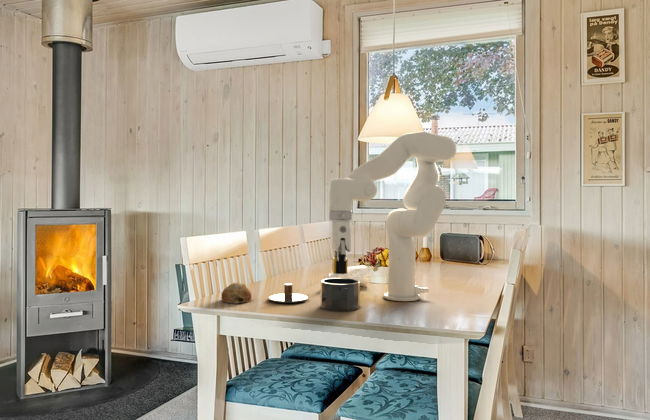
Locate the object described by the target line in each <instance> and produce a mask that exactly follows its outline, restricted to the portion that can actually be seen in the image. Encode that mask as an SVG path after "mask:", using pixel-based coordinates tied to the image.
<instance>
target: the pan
mask: <svg viewBox="0 0 650 420" xmlns="http://www.w3.org/2000/svg"><path fill="white" fill-rule="evenodd" d="M360 287H361V286H360V281H359V280H355V279H349V278H329V279H325V278H324V279H322V280H321V281H320V308H321V309H323V310H326V311H329V312H330V311H331V312H351V311H356V310H358V309H360V303H361V302H360V300H361V299H360V297H361V296H360V292H361V291H360V290H361V288H360Z"/></svg>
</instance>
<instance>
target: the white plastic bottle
mask: <svg viewBox="0 0 650 420" xmlns="http://www.w3.org/2000/svg"><path fill="white" fill-rule="evenodd" d="M370 271H371V269H370V268H369V267H368V266H367V265H356V266H347V274H334V273H333V272H332V271H331V272H330V273H327V274H326V275H325V276H324V277H323V278H324V279H329V278H349V279H355V280H359V281H360V287H363V286H367V285H369V283H370V282H371V278H372V276H371V275H372V274H371V272H370Z"/></svg>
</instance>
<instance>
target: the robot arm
mask: <svg viewBox="0 0 650 420" xmlns="http://www.w3.org/2000/svg"><path fill="white" fill-rule="evenodd" d="M456 154H457V144H456V143H455V141H454V140H453V139H452V138H451V137H449V136H446V135H442V134H436V133H431V132H427V131H415V132H406V133H403V134H401V135H399V136H398V137H396V138H395V139H394V140H393V141H392V142H391V143H390V144H389V145H388V146H387V147H385V148H384V149H383V150H382V151H381V152H380V153H378V155H375V157H373V158H370V159H369V160H368V161H366V162H364V163H362V164H360V165H359V166H357V167H356V168H354V169H353V170H352V171H351V172H350V173H348V175H346V176H345V177H344V178H342V177H339V178H338V177H336V178H332V179H330V181H329V200H328V201H329V205H328V207H329V208H328V209H329V211H328V221H330V222H332V223H331V224H332V225H331V248H332V250H333V251H334V254H333V255H334V257H333V258H337V261H336V274H346V258H347V253H350V252H351V251H352V240H351V239H352V238H351V235H352V234H351V233H352V232H351V222H353V204H354V203H353V202H355V201H356V202H367V201H370V200H372V199H374V198H375V197H376V195H377V193H378V187H377V184H376V183H375V182H377V181H379V180H382V179H386V178H388V177H391V176H393V175H395V174H396V173H397V172H398V171H399V170H400V169H401V168H402V167H403V166H404V165H406V163H407V162H409V161H410V160H411V159H412V158H415V162H416V167H417V168H416V173H415V175H414V177H413V179H412V180H411V182H410V184H409V186H408V187H407V189H406V191H405V193H404V195H403V199H402V202H403V203H402V204H403V206H404V207H405V208H397V209H394V210H391V211H390V212H389V213H388V215H387V217H386V221H385V227H386V233H387V242H388V262H387V263H388V264H387V265H388V266H387V267H388V270H387V292H384V293H383V298H384V299H386V300H388V301H392V302H393V301H395V302H414V301H418V300H419V299H420V295H421V294H429V292H430V289H429V287H424V286H418V285H416V262H417V261H416V260H417V259H416V257H417V255H416V254H417V250H416V249H417V248H416V247H417V246H416V243H415V241H414V240H415V239H414V238H417V239H419V238H421V239H422V238H426V237H427V236H428V235H429V234H430V233H431V232H432V231H433V229H434V227H435V225H436V223H437V222H438V220H439V218H440V216H441V214H442V212H443V210H444V208H445V206H446V201H447V196H446V195H447V194H446V192H445V189H444V188H442V186H440V185H439V184H438V183H439V181H440V172H439V169H438V166H437V164H436V163H437V162H439V163H440V162H449V161H450V160H452V159H454V157H455V156H456Z"/></svg>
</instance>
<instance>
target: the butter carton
mask: <svg viewBox="0 0 650 420" xmlns="http://www.w3.org/2000/svg"><path fill="white" fill-rule="evenodd" d="M336 261H337V258H334V257H332V264H331V265H332V266H331V267H332V270H331V272H333V273H334V274H336ZM348 261H349V259H348V258H347V257H346V274H347V267H349V265H348V264H349V263H348Z"/></svg>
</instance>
